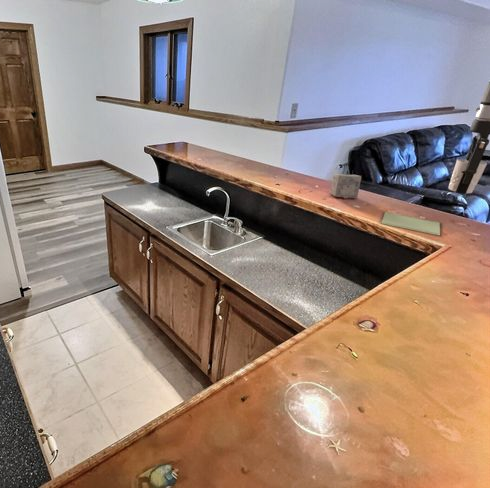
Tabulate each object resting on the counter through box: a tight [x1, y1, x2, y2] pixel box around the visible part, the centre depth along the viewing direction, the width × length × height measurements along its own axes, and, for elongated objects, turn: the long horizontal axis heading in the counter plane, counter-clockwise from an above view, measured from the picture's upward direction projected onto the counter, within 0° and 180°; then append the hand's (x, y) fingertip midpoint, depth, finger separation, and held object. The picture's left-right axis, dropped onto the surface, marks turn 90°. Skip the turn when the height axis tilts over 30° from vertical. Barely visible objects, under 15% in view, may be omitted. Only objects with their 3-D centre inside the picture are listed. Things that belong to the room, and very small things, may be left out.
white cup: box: [447, 158, 488, 194], centre depth 118 cm, size 8×8×10 cm
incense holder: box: [329, 172, 362, 200], centre depth 156 cm, size 10×8×10 cm
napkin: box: [380, 211, 441, 237], centre depth 131 cm, size 18×14×1 cm
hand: (460, 189), depth 120 cm, fingers closed on white cup, 8 cm apart
